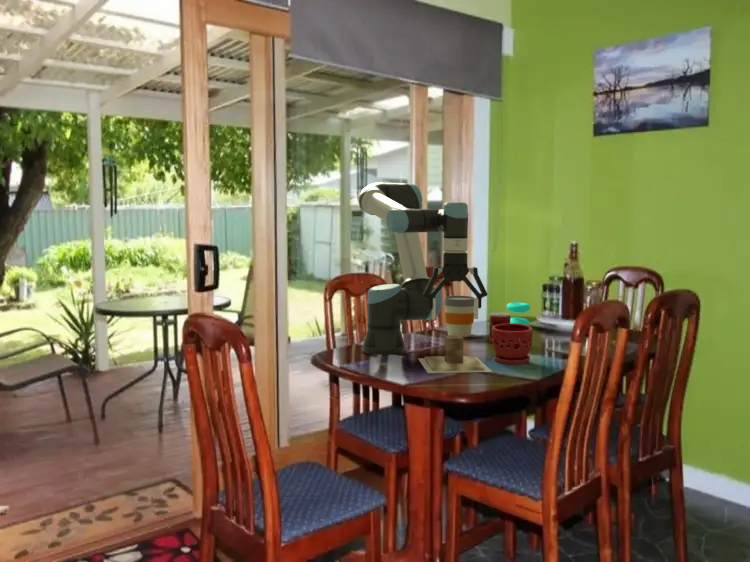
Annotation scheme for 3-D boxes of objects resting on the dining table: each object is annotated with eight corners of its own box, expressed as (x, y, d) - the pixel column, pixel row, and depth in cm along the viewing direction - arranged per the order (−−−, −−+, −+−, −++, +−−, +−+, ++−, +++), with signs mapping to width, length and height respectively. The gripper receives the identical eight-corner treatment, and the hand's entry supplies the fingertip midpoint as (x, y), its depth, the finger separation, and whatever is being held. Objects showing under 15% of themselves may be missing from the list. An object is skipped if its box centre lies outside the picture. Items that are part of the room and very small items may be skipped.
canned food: (508, 340, 259) (509, 312, 258) (510, 344, 251) (511, 315, 250) (488, 340, 260) (489, 311, 259) (489, 344, 252) (490, 315, 251)
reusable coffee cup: (437, 335, 268) (438, 298, 267) (451, 331, 279) (452, 294, 277) (467, 339, 262) (467, 300, 260) (480, 334, 272) (480, 297, 271)
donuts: (504, 304, 286) (508, 301, 295) (503, 327, 287) (508, 324, 296) (528, 305, 282) (532, 302, 291) (527, 329, 283) (531, 325, 292)
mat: (427, 374, 206) (427, 372, 206) (417, 359, 226) (417, 358, 226) (492, 373, 208) (492, 371, 207) (477, 358, 227) (477, 357, 227)
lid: (433, 371, 208) (433, 342, 207) (424, 359, 224) (425, 332, 223) (484, 370, 209) (484, 341, 208) (472, 358, 225) (473, 332, 224)
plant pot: (486, 358, 228) (487, 323, 227) (524, 357, 229) (525, 322, 228) (497, 367, 215) (497, 330, 214) (537, 366, 216) (538, 329, 215)
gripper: (417, 252, 208) (417, 321, 210) (497, 252, 210) (496, 320, 212) (414, 251, 215) (414, 317, 217) (491, 251, 217) (490, 316, 219)
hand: (454, 319), depth 215 cm, fingers open, 13 cm apart
